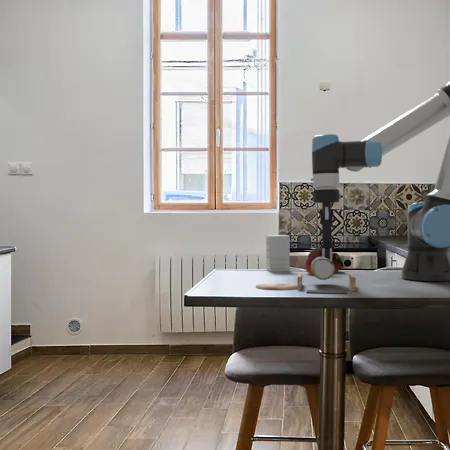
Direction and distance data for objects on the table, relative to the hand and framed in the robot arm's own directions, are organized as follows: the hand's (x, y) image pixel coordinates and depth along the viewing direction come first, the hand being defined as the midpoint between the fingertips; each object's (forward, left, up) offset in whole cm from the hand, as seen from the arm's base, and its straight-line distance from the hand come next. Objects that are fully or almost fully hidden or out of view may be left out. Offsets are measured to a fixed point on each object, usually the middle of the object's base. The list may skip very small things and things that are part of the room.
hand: (327, 270), depth 169 cm
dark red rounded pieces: (-5, -31, -5) cm, 32 cm away
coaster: (+14, +11, -4) cm, 18 cm away
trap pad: (+1, +20, -4) cm, 20 cm away
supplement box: (+17, -35, -4) cm, 39 cm away
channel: (+1, +10, -4) cm, 11 cm away
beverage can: (+2, 0, 0) cm, 2 cm away
